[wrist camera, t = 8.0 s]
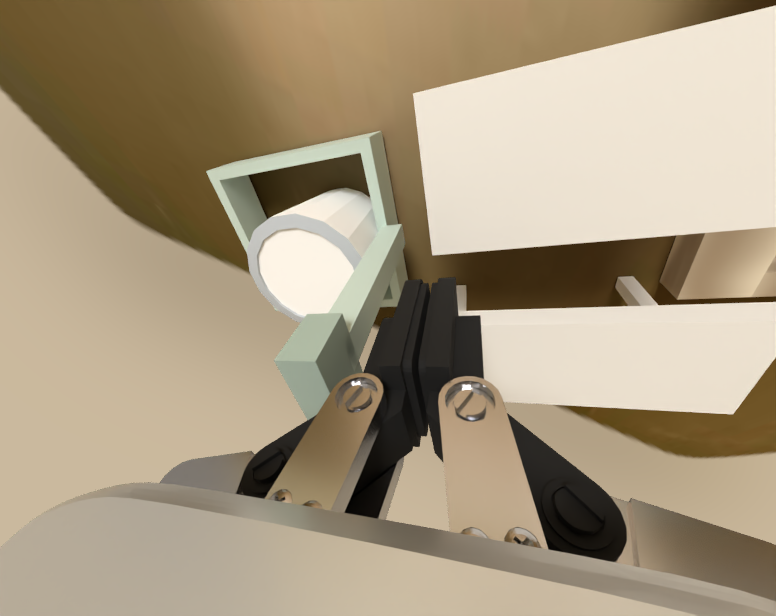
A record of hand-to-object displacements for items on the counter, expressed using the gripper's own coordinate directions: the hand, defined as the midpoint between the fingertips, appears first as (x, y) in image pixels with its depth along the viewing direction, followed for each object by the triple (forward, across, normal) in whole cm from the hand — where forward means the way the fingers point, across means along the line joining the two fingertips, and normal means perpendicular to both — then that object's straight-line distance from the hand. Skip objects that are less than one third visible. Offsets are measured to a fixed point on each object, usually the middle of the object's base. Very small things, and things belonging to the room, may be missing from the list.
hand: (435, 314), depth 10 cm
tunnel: (+11, -6, 0) cm, 12 cm away
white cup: (+11, +7, 0) cm, 13 cm away
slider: (+11, +8, 0) cm, 14 cm away
